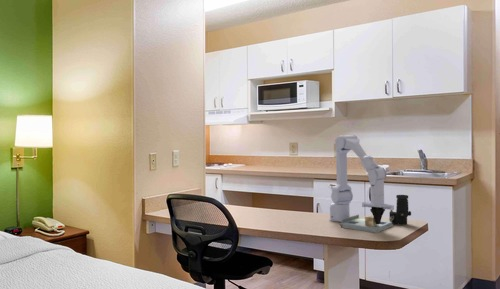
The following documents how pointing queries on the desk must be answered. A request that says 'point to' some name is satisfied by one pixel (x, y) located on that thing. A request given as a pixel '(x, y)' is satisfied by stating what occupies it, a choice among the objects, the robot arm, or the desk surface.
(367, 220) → the block
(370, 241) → the desk surface
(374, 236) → the desk surface
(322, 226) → the desk surface
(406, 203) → the scope
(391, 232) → the desk surface
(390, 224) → the board
